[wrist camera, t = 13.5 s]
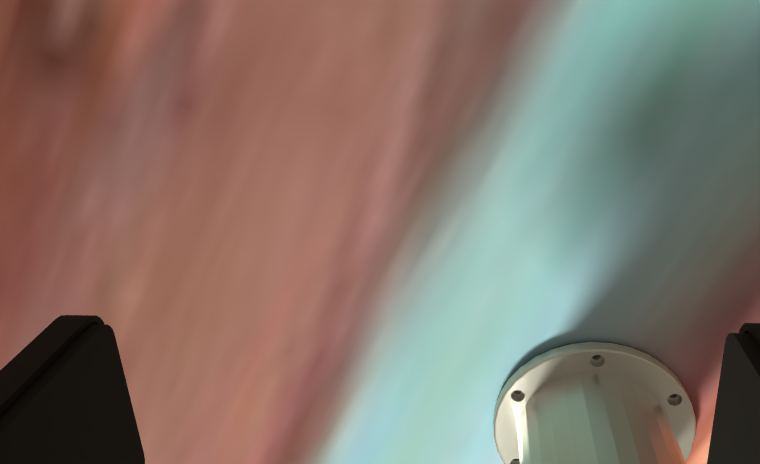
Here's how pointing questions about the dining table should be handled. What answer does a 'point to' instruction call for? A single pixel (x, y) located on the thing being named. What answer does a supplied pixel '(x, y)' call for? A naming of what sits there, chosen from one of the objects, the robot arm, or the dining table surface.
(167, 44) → the dining table surface
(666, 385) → the robot arm
